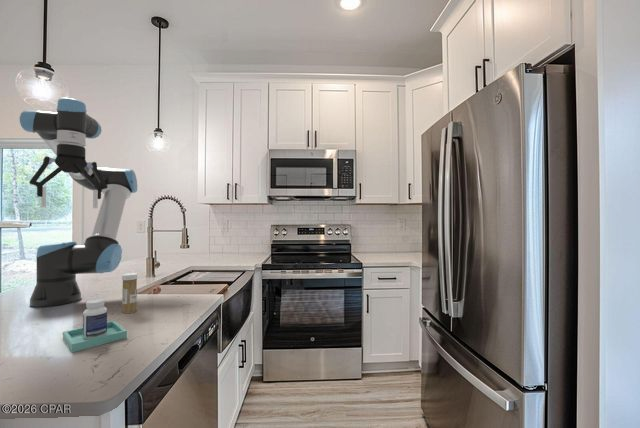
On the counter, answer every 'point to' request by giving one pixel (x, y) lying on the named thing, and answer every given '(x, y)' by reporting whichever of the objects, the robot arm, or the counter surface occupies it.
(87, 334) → the pill bottle
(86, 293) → the counter surface
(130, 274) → the sprinkles bottle
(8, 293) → the counter surface
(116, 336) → the tray
